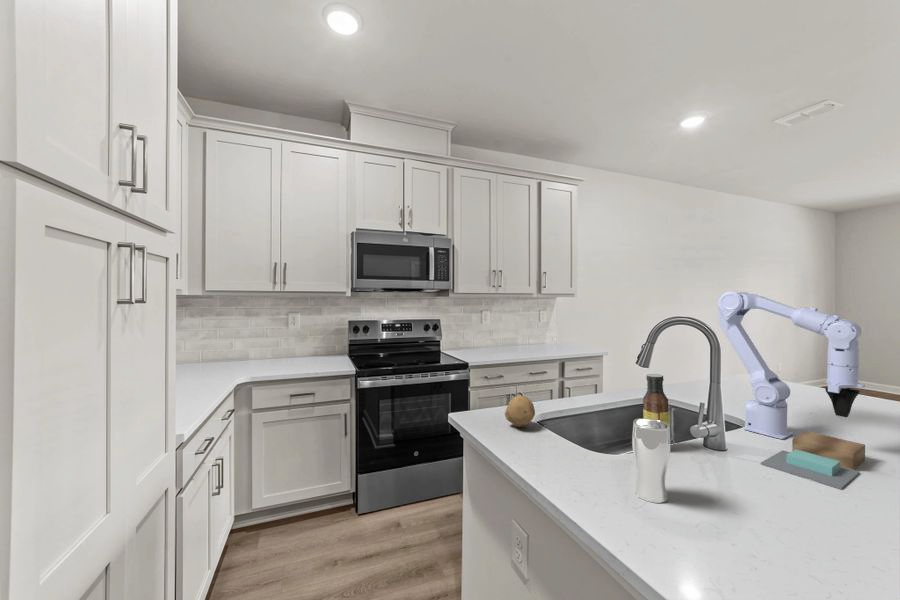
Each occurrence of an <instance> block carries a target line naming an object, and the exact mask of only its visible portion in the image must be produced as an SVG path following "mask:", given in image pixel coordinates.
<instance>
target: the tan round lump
mask: <svg viewBox="0 0 900 600" xmlns="http://www.w3.org/2000/svg"><path fill="white" fill-rule="evenodd" d="M506 406H507V407H506V408H505V411H504V417H505V419H506V420H507V421H508V422H510V423H511V424H513V425H514V426H516V427H517V428H524V427H526V426H527V425H528V424H530V423H531V422H532V421H533V420H534V417H535V416H536V409H535V406H534V403H533V401H532V400H530V399H529V398H528V397H527V396H524V395H516V396H514V397H512V398H511V399H510V401H509V402H508V404H507V405H506Z"/></svg>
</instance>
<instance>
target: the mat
mask: <svg viewBox="0 0 900 600" xmlns="http://www.w3.org/2000/svg"><path fill="white" fill-rule="evenodd" d="M788 453H790V451H787V450H780V451H778V452H777V453H775V454H773V455H772V456H770V457H768V458H766V459H764V460H763V461H760V465H762V466H766V467H769V468H772V469H775V470H777V471H781V472H784V473H786V474H790V475H792V476H793V475H794V476H796V475H797V477H801V478H803V479H806V478H807V480H809V479H811V480H810V481H812V480H813V482H815V481H817V482H816V483H818V484H822V485H825V486H828V487H832V488H835V489H838V490H843V489H844V488H845V487H846V486H847V485H849V483H850V481H851V482H852V481H853V480H854V479H855V478H856V477H857V476H858V475H860V473H861V472H860V471H858V470H856V469H854V470H852V469H848V468H845V467H841V466H840V470H839V471H838V472H837V473H835V474H834V475H833V476H830V475H826V474H823V473H820V472H816V471H813V470H810V469H806V468H803V467H799V466H796V465H793V464H789V463H786V459H787V454H788Z"/></svg>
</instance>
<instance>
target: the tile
mask: <svg viewBox="0 0 900 600" xmlns="http://www.w3.org/2000/svg"><path fill="white" fill-rule="evenodd" d="M789 452H790V451H789ZM786 463H789V464H793V465H796V466H799V467H803V468H806V469H810V470H813V471H816V472H820V473H823V474H826V475H830V476H833V475H834V474H835V473H837V472H838V471H839V470H840V461H837V460H833V459H830V458H826V457H822V456H819V455H815V454H811V453H808V452H804V451H800V450H796V449H795V450H793V451H792V450H791V452H790V453H788V454H787V459H786Z"/></svg>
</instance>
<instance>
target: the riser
mask: <svg viewBox="0 0 900 600" xmlns="http://www.w3.org/2000/svg"><path fill="white" fill-rule="evenodd" d="M791 440H792V445H791V448H792V450H791V452H792V451H793V450H795V449H796V450H800V451H804V452H808V453H811V454H815V455H819V456H822V457H826V458H830V459H833V460H837V461H840V466H841V467H845V468H848V469H852V470H856V469H857V468H858V467H859V466H861V464H863V463H864V462H865V461H866V444H864V443H859V442H856V441H855V442H854V441H851V440H847V439H842V438H838V437H834V436H830V435H827V434H826V435H825V434H821V433H817V432H813V431H809V430H806V431H804V432H802V433H800V434H798V435H796V436H795V437H793V438H792V439H791Z"/></svg>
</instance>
